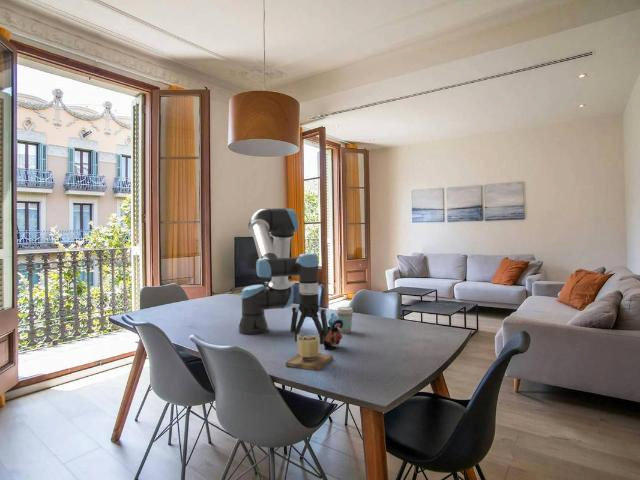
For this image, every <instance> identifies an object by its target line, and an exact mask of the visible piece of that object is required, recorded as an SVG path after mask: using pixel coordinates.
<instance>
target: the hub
mask: <svg viewBox="0 0 640 480" xmlns="http://www.w3.org/2000/svg"><path fill="white" fill-rule="evenodd" d="M307 337H312V338H313V340H306V338H307ZM298 346H299V351H298V353H299V355H300V356H302V357H309V358H310V357H316V356H318V355H320V354H322V352H321V353H318V335H317V336H316V335H305V336H302V337H301V338H299V339H298Z"/></svg>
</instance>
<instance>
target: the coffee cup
mask: <svg viewBox="0 0 640 480" xmlns="http://www.w3.org/2000/svg"><path fill="white" fill-rule="evenodd" d="M353 313H354V310H353V308H352V307H350V306H341V307H337V309H336V314H337V315H336V316H337V317H338V318H340V319H342V320H343V327H342V328H338V329H339V330H340V332H341V334H349V333H351V332H352V325H353V323H352V322H353V315H354V314H353Z"/></svg>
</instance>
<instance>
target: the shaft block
mask: <svg viewBox="0 0 640 480" xmlns="http://www.w3.org/2000/svg"><path fill="white" fill-rule="evenodd" d="M306 340H313V338H312V337H307V338H306ZM332 359H333V354H330V353H329V354H328V353H321V354H320V355H318V356H316V357H310V358H309V357H302V356H300V355H299V352H298V353H296V354H295V355H293V356H292V357H291V358H290V359H288V360H287V361H286V362H285V367H287V366H291V367H290V368H295V367H297V369H302V368H303V369H304V370H310V369H312V371H318V370H319V371H318V372H320V371H322V369H324V368H325V367H326V366H327V364H328V363H330V361H332Z"/></svg>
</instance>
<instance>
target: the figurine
mask: <svg viewBox="0 0 640 480" xmlns="http://www.w3.org/2000/svg"><path fill="white" fill-rule="evenodd" d="M327 324H328V325H329V326H328V330H329V333H328V334H327V335H324V344H323V347H324V348H323V350H325V351H331V350H336V349H337V348H339V345H340V342H341V341H340V340H342V339H343V333H341V332H340V330H339V328H342V327H343V320H342V319H340V318H338V316H337V315H335V313H331V314H330V318H329V320H327Z"/></svg>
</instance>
